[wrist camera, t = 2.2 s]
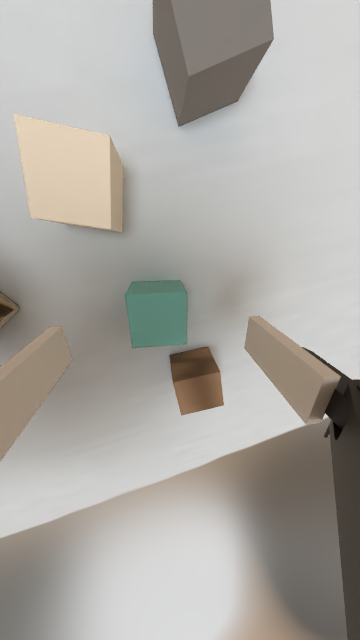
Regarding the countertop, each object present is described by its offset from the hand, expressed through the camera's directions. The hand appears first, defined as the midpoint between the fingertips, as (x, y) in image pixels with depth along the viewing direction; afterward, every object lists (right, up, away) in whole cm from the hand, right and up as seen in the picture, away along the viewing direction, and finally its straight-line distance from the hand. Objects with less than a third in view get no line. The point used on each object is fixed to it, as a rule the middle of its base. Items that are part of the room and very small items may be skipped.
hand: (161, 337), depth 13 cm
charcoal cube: (+3, +20, 0) cm, 20 cm away
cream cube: (-6, +12, +3) cm, 14 cm away
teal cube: (-1, +3, +7) cm, 8 cm away
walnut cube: (+3, -5, +11) cm, 13 cm away
